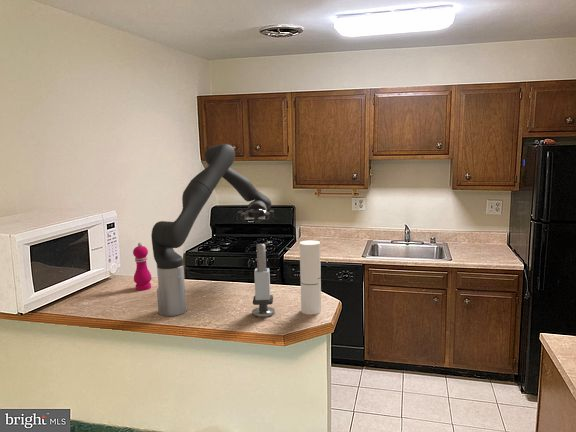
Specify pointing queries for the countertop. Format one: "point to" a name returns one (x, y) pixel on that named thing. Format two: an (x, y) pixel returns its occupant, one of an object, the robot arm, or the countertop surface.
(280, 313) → the countertop surface
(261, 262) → the pipe stand
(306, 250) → the cylindrical container
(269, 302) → the ring
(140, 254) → the pepper mill
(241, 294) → the countertop surface
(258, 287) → the sleeve
